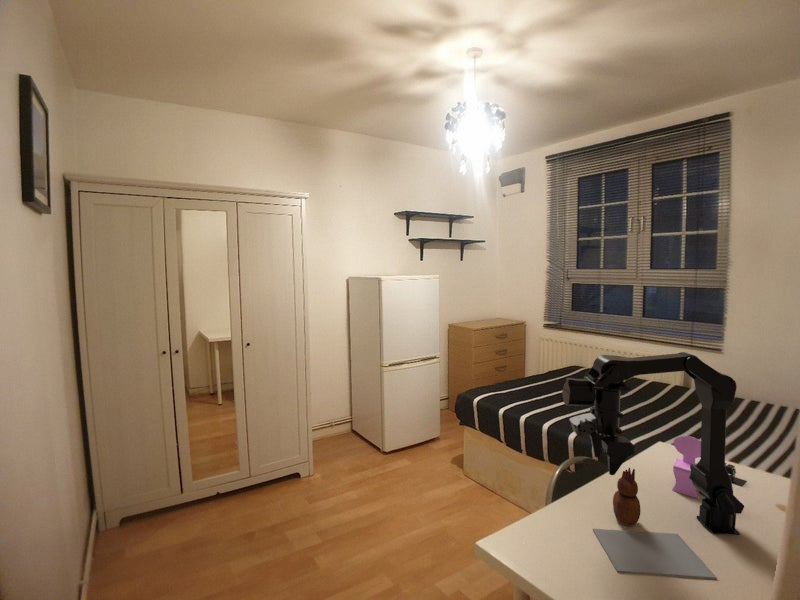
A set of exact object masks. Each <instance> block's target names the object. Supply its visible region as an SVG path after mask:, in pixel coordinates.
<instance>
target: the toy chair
mask: <svg viewBox="0 0 800 600" xmlns="http://www.w3.org/2000/svg"><path fill="white" fill-rule="evenodd" d="M672 443H673V446H674V448H675V449H676V451H677V452H678V453H680V454H681V455H682V459H681V458H678V457H676V458H675V460H674V464H673V468H672V471H673V475H674V479H675V482H674V483H675V484H674V486H673V488H672V489H671V491H673V492H676V493H680V494H683V495H687V496H690V497H693V498H695V499H699V495H698V494H697V490H696V489H697V488H696V487H695V486H694V485H693V483H692V480H691V479H690V478H689V477H690V474H691V469H690V465H691V464H693V465H696V464H697V463H698V462H696V459H698V458H701V439H698V438H696V437H693V436H690V435H684V436H683V435H682V436H677V437H676V438H674V439H673V441H672Z"/></svg>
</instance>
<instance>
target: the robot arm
mask: <svg viewBox="0 0 800 600" xmlns="http://www.w3.org/2000/svg"><path fill="white" fill-rule="evenodd" d="M676 372H677V373H678V372H684V373H685V374H686V375H687V376H688V377H690V378H691V379H692V380H693V382H694V383H693V384H694V386H695V387H694V389H695V393H696V395H697V397H698V400H699V402H700V404H701V423H700V425H701V427H700V428H701V430H700V438H701V439H700V441H701V457H699V458H700V459H699V461H698V462H696V463H697V464H696V465H693V464H691V465H690V469H691V474H690V477H689V478H690V479H691V480H692V483H693V485H694V486H695V489H697V491H698V494H699V495H701V496H702V497H703V498H702V499H701V504H700V505H699V513H698V515H696V519H697V521H699V522H700V524H702V525H703V526H704V527H705V528H706V529H707V530H708V531H709V532H710V533H712V534H716V535H731V536H732V535H733V536H740V531H738V530H737V528H736V523H737V522H736V521H737V515H739V514H742V513H743V511H744V509H745V505H744V504H743V503H742V502H741V501H740V500H739V499H738V497H736V496H735V495H734V489H733V484H732V481H731V479H730V476H729V475H730V474H728V472H727V470H726V468H725V463H726V442H727V441H726V439H727V437H726V434H727V412H728V408H729V407H730V406H731V405H732V404H733V402H734V401H735V397H736V392H737V389H738V388H737V383H736V380H734V379H733V377H731V376H730V375H728V374H724V373H721V372H719V371H717V370H716V369H714V368H712V367H711V366H709V364H706V363H705V362H704V361H703V360H701V359H700V358H699V357H698V356H697V355H694V354H691V353H690V352H689V353H688V352H685V351H681V352H678V353H677V352H676V353H670V354H667V353H666V354H657V355H656V354H655V355H649V356H648V355H647V356H635V357H630V356H629V357H628V356H621V355H613V354H612V355H611V354H610V355H609V354H602V355H599V356H597V357H596V359H594V361H593V364H592V366H591V367H590V369H589V370H588V371H586V373H585V375H583V378H573V377H566V378H565V382H564V384H563V388H562V391H561V392H562V394H561V395H562V400H563V403H564V404H565V406H577V407H579V406H581V407H590V406H591V405H594V406H591V407H590V408H589V412H587V413H582V414H579V415H575V416H572V417H570V418H569V419H568V420H569V423H570V425H571V428H572V432H574V434H575V435H576V436H577V437H583V436H587V435H589V438H590V439H589V440H590V442H591V446H592V450H593V455H594V457H595V458H600V456H601V454H602V452H604V453H605V454H606V457H607V467H608V474H609V475H610V476H615V475H616V473H617V472H618V471H619V469H620V468H621V467H622V465H623V464H624V462H625V461H626V460H627V459H628V458H629V457H631V456H635V454H636V445H634V443H632V442H631V441H630V440H629V439H628V438H627V437H625V436H617V435H618V434H619V435H622V434H623V429H621V428H620V418H621V419H623V413H622V412H621V411H620V410H621V392H622V391H623V392H629V391H631V388H630V387H629V386H628V385H627V384H626V382H625V381H628V380H630V379H632V378H634V377H637V376H642V375H653V374H654V375H655V374H663V373H665V374H666V373H676Z"/></svg>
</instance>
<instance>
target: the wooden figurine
mask: <svg viewBox="0 0 800 600" xmlns="http://www.w3.org/2000/svg"><path fill="white" fill-rule="evenodd" d="M635 471H636V469H635V468H633V469H632V470H631V468H630V467H628V469H625V470H623V471H622V473H621V477H619V479H618V480H617V483H616V487H617V491H615V492H614V494H613V497H612V506H613V513H614V516H615V518H616V520H617V521H618V522H619V523H620V524H622V525H624V526H628V527H634V526H635V525H636V524H637V523H638V521H639V519H640V516H641V503H640V499H639V498H638V496H637V494H639V493H638V492H639V486H638V483H637V481H636V477H635V476H636V473H635Z"/></svg>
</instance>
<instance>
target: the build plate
mask: <svg viewBox="0 0 800 600" xmlns="http://www.w3.org/2000/svg"><path fill="white" fill-rule="evenodd" d="M725 468H726V470H727V472H728V474H729V476H730V479H731V481H732V485H736V486H738V487H741V488H742V487H744V486H745V485H746V483H748V480H746V479H743V478H739V477H736V474H737V471H736V468H735V465H733V464H730V463H728V464H727V462H725Z"/></svg>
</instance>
